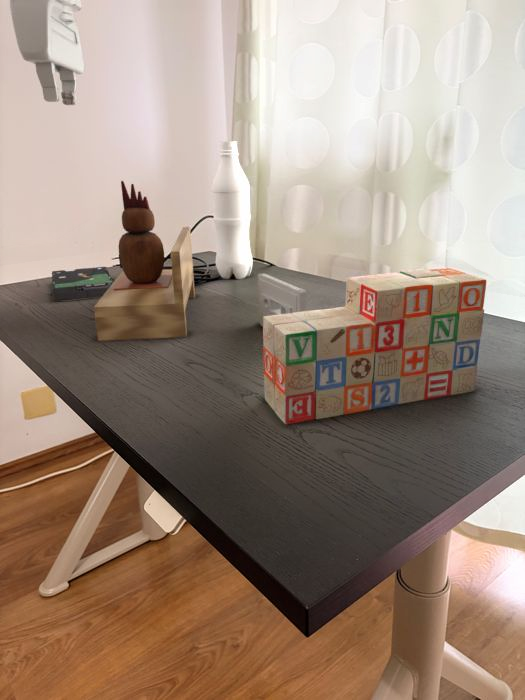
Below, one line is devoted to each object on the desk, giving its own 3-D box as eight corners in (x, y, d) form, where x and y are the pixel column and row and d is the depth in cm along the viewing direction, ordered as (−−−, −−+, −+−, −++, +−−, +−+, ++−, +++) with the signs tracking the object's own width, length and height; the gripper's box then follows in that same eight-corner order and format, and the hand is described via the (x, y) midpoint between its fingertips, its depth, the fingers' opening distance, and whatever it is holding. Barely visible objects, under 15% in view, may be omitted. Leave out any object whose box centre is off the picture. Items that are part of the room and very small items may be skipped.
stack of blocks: (284, 427, 55) (282, 301, 51) (263, 401, 61) (260, 285, 56) (476, 392, 61) (488, 277, 57) (440, 371, 67) (449, 265, 63)
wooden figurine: (114, 283, 90) (102, 181, 85) (140, 275, 95) (130, 178, 89) (148, 287, 87) (138, 182, 81) (173, 279, 91) (164, 179, 86)
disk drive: (52, 285, 113) (54, 303, 99) (50, 271, 112) (51, 287, 98) (107, 279, 116) (116, 296, 103) (106, 265, 115) (114, 280, 102)
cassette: (309, 348, 75) (309, 290, 73) (296, 350, 75) (296, 292, 72) (267, 323, 85) (266, 272, 83) (256, 325, 85) (254, 273, 82)
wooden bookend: (98, 342, 80) (86, 254, 76) (125, 299, 101) (117, 229, 96) (186, 338, 80) (179, 251, 76) (195, 297, 101) (190, 226, 97)
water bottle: (260, 276, 115) (256, 140, 106) (234, 283, 110) (227, 141, 101) (235, 271, 119) (229, 141, 110) (208, 277, 114) (200, 142, 106)
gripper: (45, 9, 90) (59, 107, 95) (-5, -25, 71) (15, 100, 75) (87, 9, 90) (98, 106, 95) (48, -26, 71) (65, 98, 76)
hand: (61, 103), depth 85 cm, fingers open, 8 cm apart
